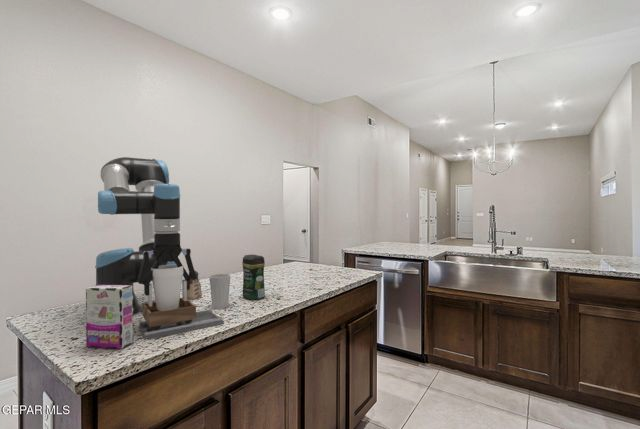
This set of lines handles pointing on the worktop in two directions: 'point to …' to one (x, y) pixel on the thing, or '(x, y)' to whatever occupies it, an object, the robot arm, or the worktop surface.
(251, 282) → the coffee jar
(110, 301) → the candy bar box
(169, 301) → the foam cup
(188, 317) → the open wooden crate
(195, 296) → the figurine
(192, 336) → the worktop surface
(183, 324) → the grey metal tray
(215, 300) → the cup
